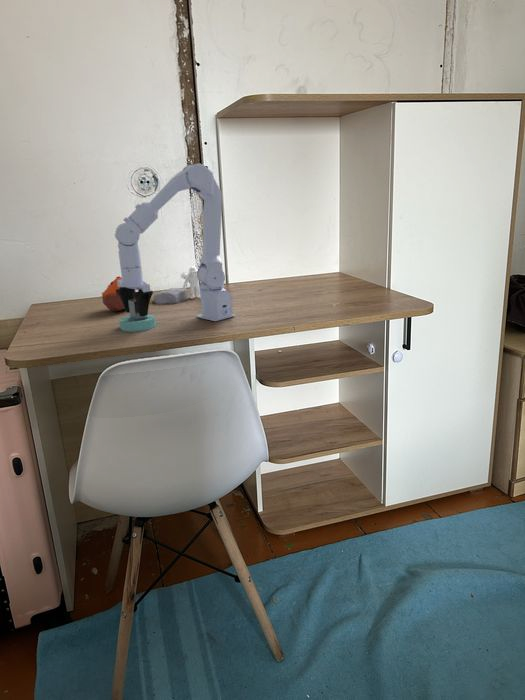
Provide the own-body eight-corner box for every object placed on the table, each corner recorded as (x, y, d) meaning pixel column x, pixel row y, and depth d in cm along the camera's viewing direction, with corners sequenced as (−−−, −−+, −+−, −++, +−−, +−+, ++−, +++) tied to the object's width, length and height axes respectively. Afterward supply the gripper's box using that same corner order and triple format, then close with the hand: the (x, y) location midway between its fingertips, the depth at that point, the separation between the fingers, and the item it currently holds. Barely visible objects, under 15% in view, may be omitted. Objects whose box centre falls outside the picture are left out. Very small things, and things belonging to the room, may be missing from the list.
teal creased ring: (162, 325, 157) (161, 317, 156) (132, 333, 151) (131, 324, 150) (144, 320, 164) (143, 312, 163) (114, 327, 158) (113, 319, 157)
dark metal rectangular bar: (146, 326, 157) (143, 299, 155) (137, 328, 155) (133, 301, 153) (141, 324, 160) (137, 298, 157) (131, 327, 158) (128, 300, 155)
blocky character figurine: (207, 295, 196) (204, 262, 192) (208, 297, 192) (205, 263, 188) (182, 297, 194) (179, 264, 191) (183, 299, 191) (179, 265, 187)
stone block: (153, 309, 187) (179, 303, 185) (149, 295, 186) (175, 289, 184) (164, 302, 199) (190, 297, 196) (161, 290, 197) (186, 284, 195)
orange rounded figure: (126, 315, 172) (122, 279, 169) (97, 314, 175) (92, 279, 172) (143, 306, 184) (139, 272, 180) (115, 306, 186) (111, 273, 183)
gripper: (105, 266, 154) (111, 313, 159) (131, 271, 144) (137, 320, 148) (127, 263, 159) (132, 308, 163) (154, 267, 149) (159, 315, 153)
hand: (136, 313), depth 156 cm, fingers open, 7 cm apart
